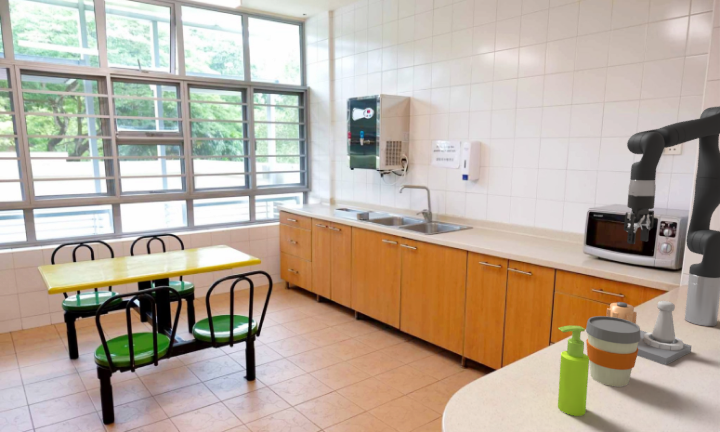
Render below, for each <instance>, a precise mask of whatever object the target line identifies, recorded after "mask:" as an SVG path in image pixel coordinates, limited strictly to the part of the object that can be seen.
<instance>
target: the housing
mask: <svg viewBox="0 0 720 432" xmlns="http://www.w3.org/2000/svg"><path fill="white" fill-rule="evenodd" d="M634 310H635V307H634V306H633V305H631V304H629V303H626V302H622V301H617V302H612V303H610V305H609V308H608V307H607V308H606V316H608V317H616V318H621V319H625V320H628V321H631V322H633V323H635V324H637V317H638V316H637V313H638V312H637V311H634ZM640 338H641V339H640V341H639V342H638V345H637V348H638V354H637V357H638V356H639V357H641V358H644V359H646V360H650V361H653V362H656V363H658V364H661V365H664V366H667V365H668V364H671V363H673V362H675V361H676V360H678V359H680V358H682V357H684V356H685V355H688V354H690V353H691V352H692V345H690V344H687V343H684V342H683V341H684V340H682V339H681V338H679V337H677V336H675V339H674V341H673V342H672V344H667V343H660V342H657V341H655V340H654V338H653V336H652V332H648V331H645V330H644V331H643V330H642V329H640Z"/></svg>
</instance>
